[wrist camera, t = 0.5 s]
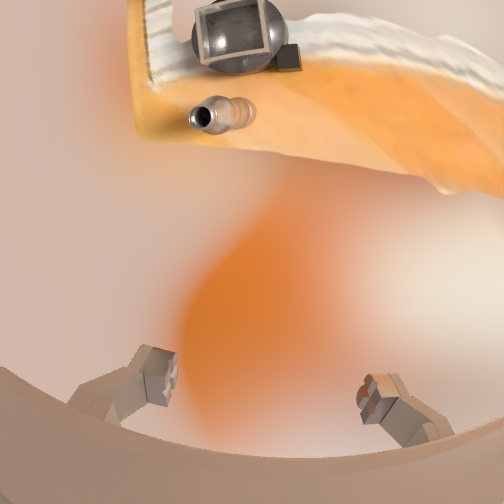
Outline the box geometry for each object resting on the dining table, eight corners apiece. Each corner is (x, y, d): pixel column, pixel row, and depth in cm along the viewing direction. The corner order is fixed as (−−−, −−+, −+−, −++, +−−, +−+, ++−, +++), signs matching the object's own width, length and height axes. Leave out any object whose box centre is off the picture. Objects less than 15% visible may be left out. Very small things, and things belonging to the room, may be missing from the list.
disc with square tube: (198, 12, 39) (180, 3, 33) (290, -5, 34) (284, -21, 27) (207, 83, 48) (189, 81, 41) (302, 70, 42) (297, 64, 36)
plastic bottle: (221, 111, 51) (170, 118, 34) (245, 91, 47) (202, 85, 31) (241, 134, 52) (197, 149, 36) (265, 114, 49) (232, 118, 32)
